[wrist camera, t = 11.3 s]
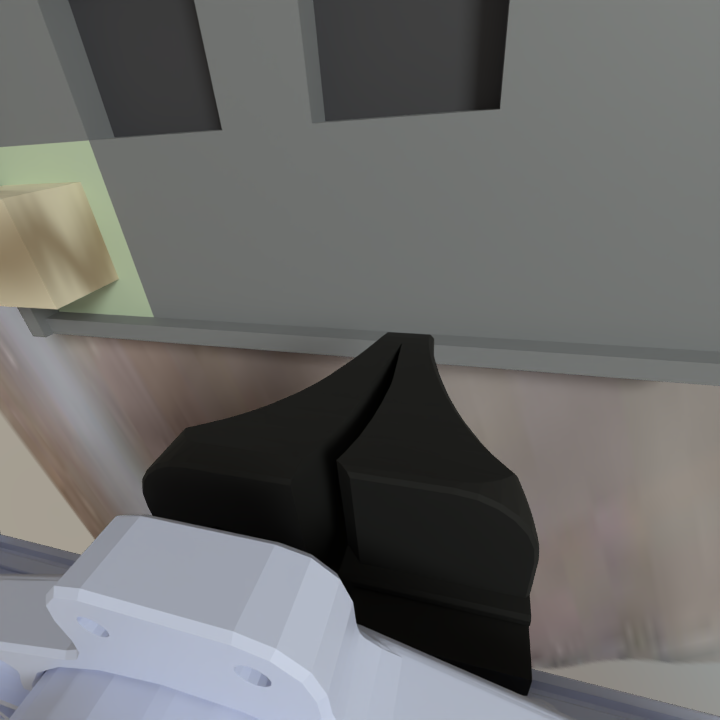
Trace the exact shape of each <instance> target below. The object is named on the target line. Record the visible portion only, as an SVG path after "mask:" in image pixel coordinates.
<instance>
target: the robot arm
mask: <svg viewBox="0 0 720 720" xmlns="http://www.w3.org/2000/svg"><path fill="white" fill-rule="evenodd" d="M142 484H143V495H144V497H145V500H146V503H147V506H148V508H149V510H150V511H151V513H152V515H153V516H151V515H120V516H116V517H115V518H114V519H113V520H112V521H111V522H110V523H109V525H108V526H107V527H106V528H105V529H104V530H103V531H102V532H101V533H100V535H99V536H98V537H97V538H96V539H95V540H94V542H92V544H91V545H90V546H89V547H88V548H87V549H86V550H85V552H84V553H83V554H82V555H80V554H76V553H72V552H68V551H64V550H60V549H56V548H53V547H49V546H45V545H41V544H37V543H33V542H29V541H25V540H21V539H17V538H13V537H9V536H5V535H1V534H0V720H720V716H716V715H712V714H708V713H705V712H701V711H696V710H693V709H688V708H685V707H681V706H677V705H673V704H669V703H665V702H661V701H657V700H653V699H649V698H645V697H641V696H637V695H633V694H629V693H626V692H621V691H618V690H614V689H610V688H606V687H602V686H598V685H594V684H590V683H586V682H582V681H578V680H574V679H570V678H566V677H562V676H558V675H554V674H550V673H546V672H543V671H539V670H535V669H532V668H531V654H530V639H529V626H530V623H531V609H530V591H531V587H532V584H533V580H534V576H535V572H536V568H537V564H538V560H539V543H538V537H537V532H536V528H535V524H534V520H533V517H532V514H531V510H530V508H529V505H528V502H527V499H526V496H525V494H524V491H523V489H522V487H521V484H520V482H519V479H518V477H517V476H516V475H515V474H514V473H513V472H512V471H511V470H509V469H508V468H507V467H506V466H505V465H504V464H502V463H501V462H500V461H499V460H498V459H497V458H495V457H494V456H493V455H492V454H491V453H490V452H489V451H488V450H487V449H486V448H485V447H484V446H483V444H482V443H481V442H480V441H479V440H478V439H477V437H476V436H475V435H474V434H473V432H472V431H471V430H470V429H469V427H468V426H467V425H466V424H465V422H464V421H463V419H462V418H461V416H460V415H459V413H458V412H457V410H456V408H455V407H454V405H453V403H452V401H451V400H450V398H449V396H448V394H447V392H446V389H445V387H444V385H443V383H442V380H441V378H440V375H439V372H438V369H437V365H436V362H435V358H434V338H433V337H432V336H431V335H429V334H412V333H396V332H387V333H386V334H385V335H383V336H382V337H381V338H380V339H378V340H377V341H376V342H375V343H373V344H372V345H371V346H370V347H368V348H367V349H366V350H365V351H363V352H362V353H361V354H359V355H358V356H357V357H356V358H354V359H353V360H352V361H350V362H349V363H347V364H346V365H344V366H343V367H341V368H340V369H338V370H337V371H335V372H334V373H332V374H331V375H329V376H328V377H326V378H324V379H323V380H321V381H319V382H318V383H316V384H314V385H312V386H310V387H308V388H306V389H304V390H302V391H300V392H298V393H296V394H294V395H291V396H289V397H287V398H284V399H282V400H280V401H277V402H275V403H273V404H270V405H268V406H265V407H262V408H259V409H256V410H253V411H250V412H247V413H244V414H241V415H238V416H234V417H230V418H227V419H223V420H219V421H214V422H210V423H206V424H202V425H198V426H193V427H188V428H185V429H184V431H183V432H182V433H181V434H180V435H179V436H178V437H177V438H176V439H175V440H174V441H173V442H172V443H171V445H170V446H169V447H168V448H167V449H166V450H165V451H164V452H163V453H162V454H161V455H160V457H159V458H158V459H157V460H156V461H155V462H154V463H153V464H152V465H151V466H150V467H149V469H148V470H147V471H146V473H145V475H144V477H143V479H142Z"/></svg>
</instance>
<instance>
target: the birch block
mask: <svg viewBox="0 0 720 720" xmlns="http://www.w3.org/2000/svg"><path fill="white" fill-rule="evenodd" d="M118 279H119V278H118V275H117V273H116V270H115V267H114V265H113V262H112V260H111V257H110V255H109V252H108V250H107V247H106V245H105V242H104V240H103V237H102V235H101V232H100V230H99V227H98V225H97V222H96V219H95V217H94V214H93V212H92V209H91V207H90V204H89V202H88V199H87V197H86V194H85V192H84V189H83V187H82V184H81V182H66V183H43V184H19V185H3V186H0V306H9V307H25V308H42V309H59V308H61V307H63V306H65V305H67V304H69V303H71V302H73V301H75V300H77V299H79V298H81V297H83V296H85V295H87V294H89V293H91V292H94V291H96V290H98V289H100V288H102V287H104V286H106V285H108V284H110V283H112V282H114V281H116V280H118Z"/></svg>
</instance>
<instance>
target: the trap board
mask: <svg viewBox="0 0 720 720" xmlns="http://www.w3.org/2000/svg"><path fill="white" fill-rule="evenodd" d="M66 182H81V184H82V187H83V189H84V192H85V194H86V197H87V199H88V202H89V204H90V207H91V209H92V212H93V214H94V217H95V219H96V222H97V225H98V227H99V230H100V232H101V235H102V237H103V240H104V242H105V245H106V247H107V250H108V252H109V255H110V257H111V260H112V262H113V265H114V267H115V270H116V273H117V275H118V278H119V279H118V280H116V281H114V282H112V283H110V284H108V285H106V286H104V287H102V288H100V289H98V290H96V291H94V292H91V293H89V294H87V295H85V296H83V297H81V298H79V299H77V300H75V301H73V302H71V303H69V304H67V305H65V306H63V307H61V308H59V309H42V308H25V307H17V308H18V310H19V312H20V313H21V315H22V317H23V319H24V321H25V322H26V324H27V326H28V328H29V330H30V332H31V333H32V335H33V336H36V337H47V336H49V335H51V334H53V333H54V334H67V335H79V336H92V337H105V338H117V339H130V340H143V341H155V342H168V343H181V344H193V345H206V346H219V347H232V348H244V349H257V350H270V351H282V352H295V353H308V354H320V355H333V356H346V357H357V356H358V355H359V354H361V353H362V352H363V351H365V350H366V349H367V348H368V347H370V346H371V345H372V344H373V343H375V342H376V341H377V340H378V339H380V338H381V337H382V336H383V335H385V334H386V333H387V332H396V333H412V334H429V335H431V336H432V337H433V338H434V358H435V362H436V364H447V365H460V366H472V367H485V368H498V369H510V370H523V371H536V372H548V373H561V374H574V375H587V376H599V377H612V378H625V379H637V380H650V381H663V382H675V383H688V384H701V385H713V386H720V0H0V186H3V185H19V184H43V183H66Z"/></svg>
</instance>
